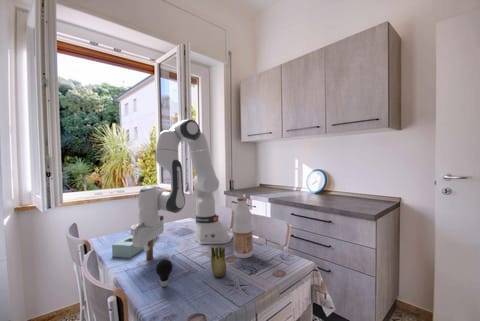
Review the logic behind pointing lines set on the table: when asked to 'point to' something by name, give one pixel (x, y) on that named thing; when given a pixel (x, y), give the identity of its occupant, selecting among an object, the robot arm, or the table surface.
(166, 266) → the light bulb
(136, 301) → the table surface
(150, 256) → the walnut peg
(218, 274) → the fennel bulb
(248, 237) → the fruit juice
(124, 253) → the hole block
